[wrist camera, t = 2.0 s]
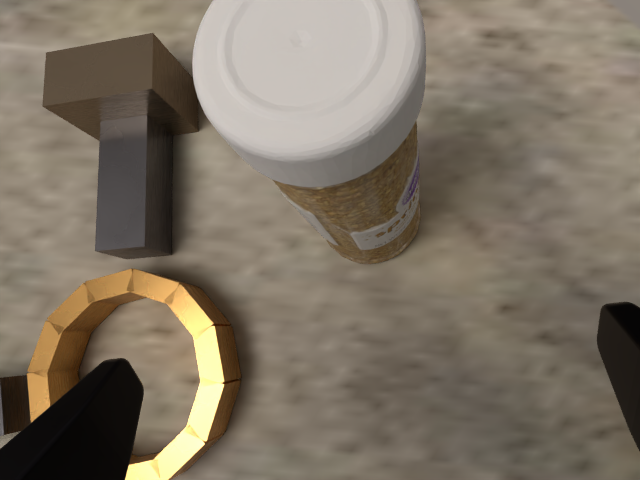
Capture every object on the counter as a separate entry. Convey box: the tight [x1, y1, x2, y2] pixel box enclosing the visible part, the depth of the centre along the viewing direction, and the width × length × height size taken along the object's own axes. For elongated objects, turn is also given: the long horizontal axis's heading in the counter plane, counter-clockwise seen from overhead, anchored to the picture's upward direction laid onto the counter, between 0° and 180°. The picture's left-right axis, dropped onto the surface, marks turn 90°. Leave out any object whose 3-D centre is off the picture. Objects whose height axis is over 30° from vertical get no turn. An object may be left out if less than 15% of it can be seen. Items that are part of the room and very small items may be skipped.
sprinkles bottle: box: [192, 0, 426, 264], centre depth 15 cm, size 5×5×13 cm
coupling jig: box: [0, 33, 242, 480], centre depth 21 cm, size 17×25×4 cm
